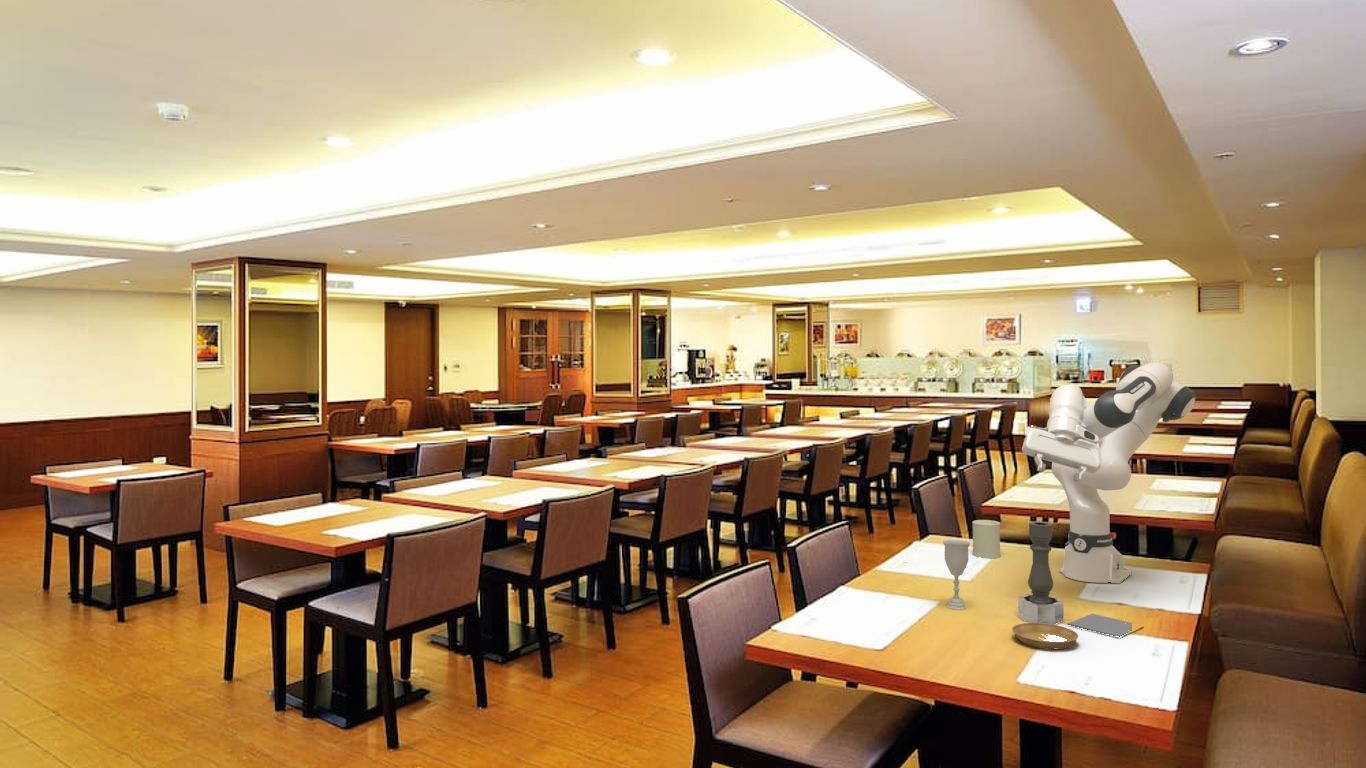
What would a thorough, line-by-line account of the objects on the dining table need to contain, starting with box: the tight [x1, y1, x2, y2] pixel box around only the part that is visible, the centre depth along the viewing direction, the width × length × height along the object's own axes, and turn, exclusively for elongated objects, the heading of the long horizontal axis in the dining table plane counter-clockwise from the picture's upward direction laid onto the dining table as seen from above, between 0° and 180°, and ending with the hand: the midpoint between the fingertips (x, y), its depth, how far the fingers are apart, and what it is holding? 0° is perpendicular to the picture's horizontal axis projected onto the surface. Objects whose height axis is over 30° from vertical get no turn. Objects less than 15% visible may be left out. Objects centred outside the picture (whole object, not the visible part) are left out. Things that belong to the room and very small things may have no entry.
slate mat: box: [1066, 613, 1133, 637], centre depth 214 cm, size 13×13×1 cm
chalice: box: [942, 538, 971, 611], centre depth 233 cm, size 7×7×18 cm
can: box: [971, 519, 1002, 559], centre depth 292 cm, size 9×9×12 cm
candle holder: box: [1027, 521, 1054, 604], centre depth 222 cm, size 6×6×25 cm
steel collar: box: [1017, 593, 1064, 625], centre depth 222 cm, size 10×10×5 cm
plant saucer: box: [1011, 622, 1079, 650], centre depth 204 cm, size 15×15×3 cm
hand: (1059, 475), depth 228 cm, fingers open, 8 cm apart
